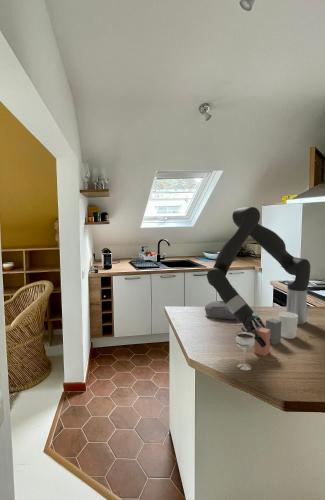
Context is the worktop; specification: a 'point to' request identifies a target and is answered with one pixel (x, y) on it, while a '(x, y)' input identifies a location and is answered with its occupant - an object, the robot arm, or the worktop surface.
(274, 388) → the worktop surface
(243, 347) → the wineglass
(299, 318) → the robot arm
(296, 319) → the white cup
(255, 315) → the green pillar
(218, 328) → the worktop surface
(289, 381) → the worktop surface
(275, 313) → the worktop surface
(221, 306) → the grey rounded bag
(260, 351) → the red pillar
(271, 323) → the charcoal pillar
